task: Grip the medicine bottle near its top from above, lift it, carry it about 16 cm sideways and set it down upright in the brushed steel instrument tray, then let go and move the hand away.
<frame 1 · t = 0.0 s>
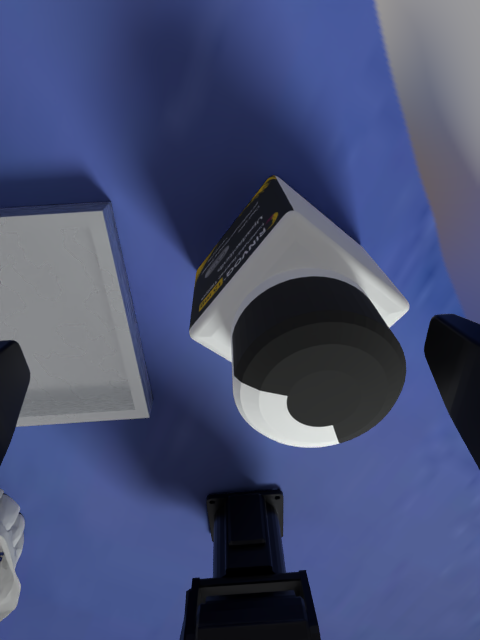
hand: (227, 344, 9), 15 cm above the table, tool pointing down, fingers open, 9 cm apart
instrument tray: (22, 321, 25), on the table
medicine bottle: (278, 258, 24), on the table
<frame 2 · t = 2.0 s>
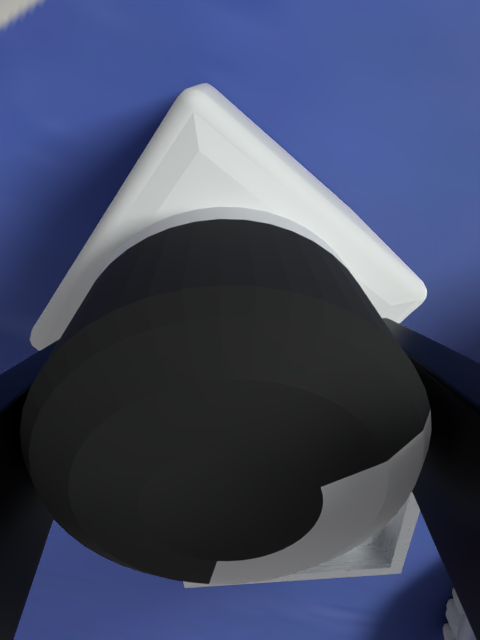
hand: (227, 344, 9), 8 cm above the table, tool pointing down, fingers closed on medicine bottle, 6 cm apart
instrument tray: (291, 486, 24), on the table
medicine bottle: (224, 225, 16), on the table, touching gripper
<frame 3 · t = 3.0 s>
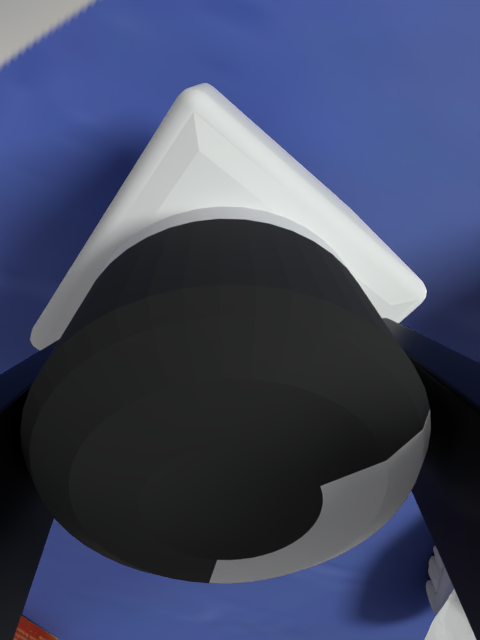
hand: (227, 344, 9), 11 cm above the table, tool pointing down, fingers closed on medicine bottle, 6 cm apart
medicine bottle: (224, 225, 16), point 3 cm above the table, touching gripper
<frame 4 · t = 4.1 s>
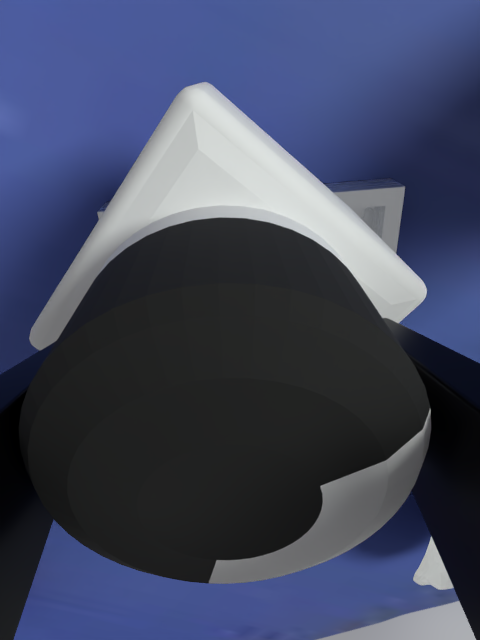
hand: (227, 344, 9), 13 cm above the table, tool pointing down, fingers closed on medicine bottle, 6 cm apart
instrument tray: (255, 313, 23), on the table
medicine bottle: (223, 225, 16), point 5 cm above the table, touching gripper
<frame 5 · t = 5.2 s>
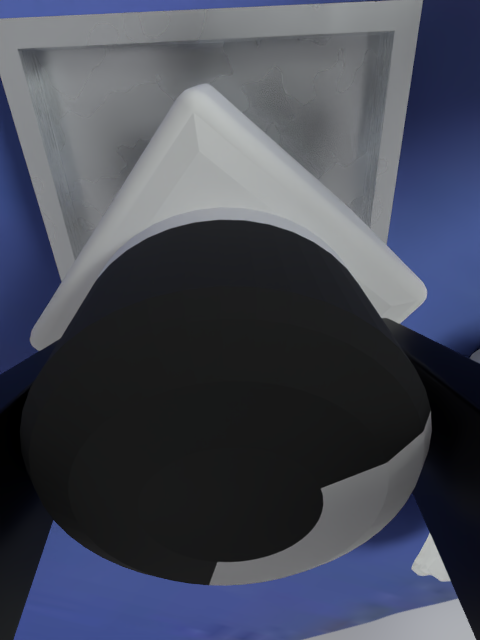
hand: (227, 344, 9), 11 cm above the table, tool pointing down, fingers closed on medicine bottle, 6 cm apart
instrument tray: (220, 211, 18), on the table
medicine bottle: (224, 226, 16), point 2 cm above the table, touching gripper
when the fingers open (10 cm above the table, at t = 6.2 s): medicine bottle drops 1 cm, resting on instrument tray.
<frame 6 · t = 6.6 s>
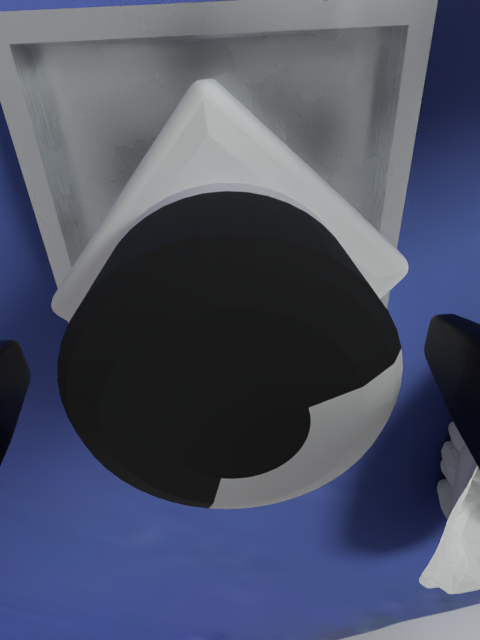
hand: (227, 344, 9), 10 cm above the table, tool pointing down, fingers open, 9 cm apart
instrument tray: (223, 215, 17), on the table
medicine bottle: (225, 212, 17), resting on instrument tray
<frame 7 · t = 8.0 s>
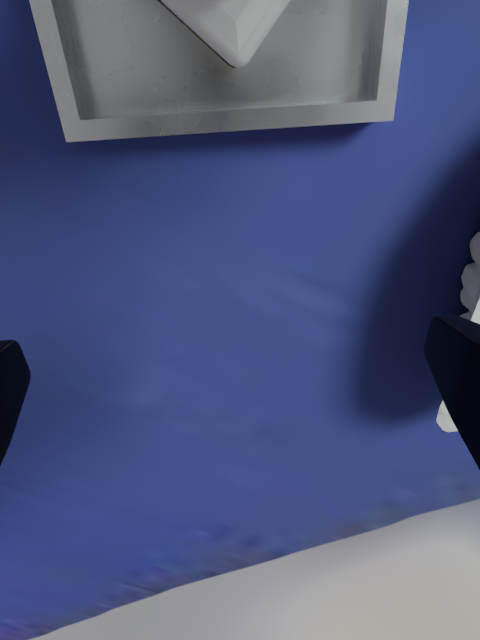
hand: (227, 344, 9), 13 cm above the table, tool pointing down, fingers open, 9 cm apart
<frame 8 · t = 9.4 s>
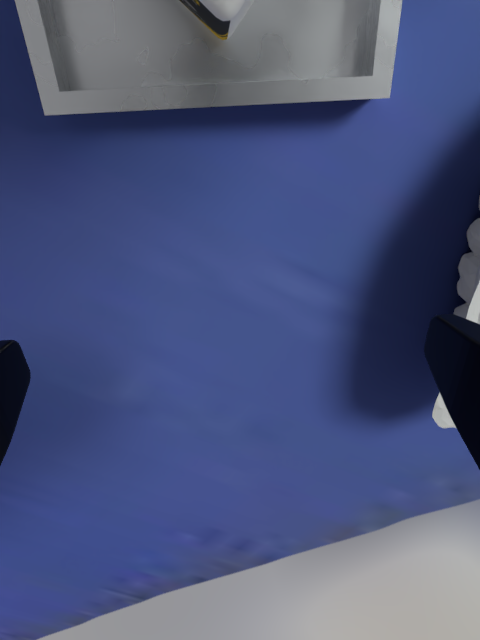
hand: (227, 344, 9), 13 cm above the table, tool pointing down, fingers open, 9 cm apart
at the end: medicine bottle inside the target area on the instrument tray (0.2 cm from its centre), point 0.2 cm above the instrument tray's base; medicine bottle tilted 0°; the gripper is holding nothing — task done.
